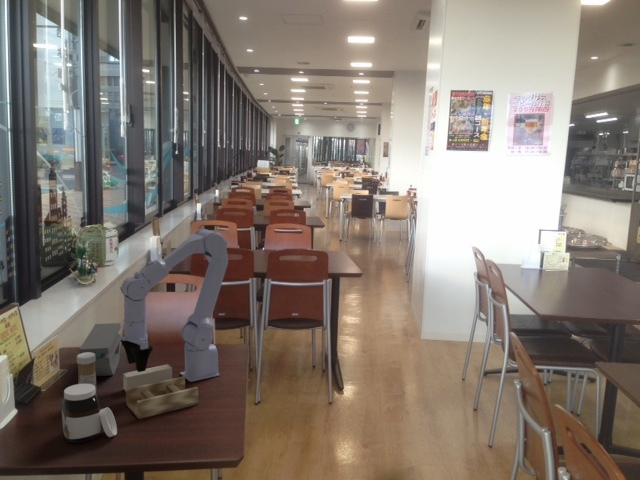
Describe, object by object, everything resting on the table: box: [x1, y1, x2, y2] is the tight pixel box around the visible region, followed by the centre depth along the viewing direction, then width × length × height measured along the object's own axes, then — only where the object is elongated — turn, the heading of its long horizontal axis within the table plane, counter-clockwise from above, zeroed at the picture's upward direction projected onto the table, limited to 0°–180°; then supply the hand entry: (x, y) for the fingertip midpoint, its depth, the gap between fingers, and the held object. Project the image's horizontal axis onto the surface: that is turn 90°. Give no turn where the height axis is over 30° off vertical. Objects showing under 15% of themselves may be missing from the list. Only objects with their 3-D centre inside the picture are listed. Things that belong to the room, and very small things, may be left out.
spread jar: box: [61, 383, 118, 444], centre depth 138 cm, size 12×11×12 cm
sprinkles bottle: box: [76, 352, 97, 396], centre depth 156 cm, size 5×5×13 cm
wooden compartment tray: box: [125, 376, 199, 420], centre depth 156 cm, size 16×10×4 cm, turn 125°
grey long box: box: [78, 322, 122, 377], centre depth 180 cm, size 25×8×11 cm, turn 11°
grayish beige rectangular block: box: [122, 363, 173, 393], centre depth 168 cm, size 13×4×5 cm, turn 125°
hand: (136, 366), depth 165 cm, fingers open, 7 cm apart
